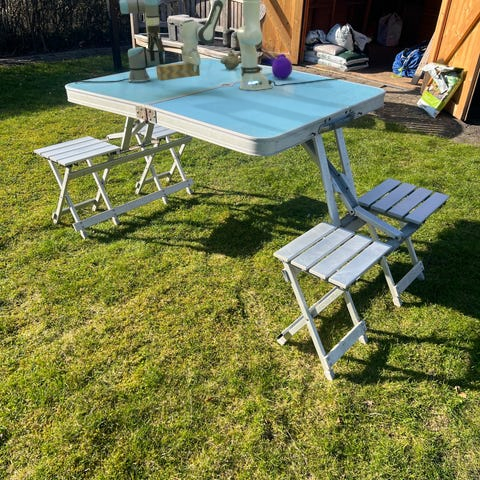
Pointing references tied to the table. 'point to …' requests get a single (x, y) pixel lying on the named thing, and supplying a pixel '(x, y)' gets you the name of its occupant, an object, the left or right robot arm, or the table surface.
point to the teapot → (231, 60)
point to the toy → (280, 66)
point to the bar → (176, 71)
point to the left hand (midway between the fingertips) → (157, 62)
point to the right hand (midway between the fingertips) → (192, 70)
